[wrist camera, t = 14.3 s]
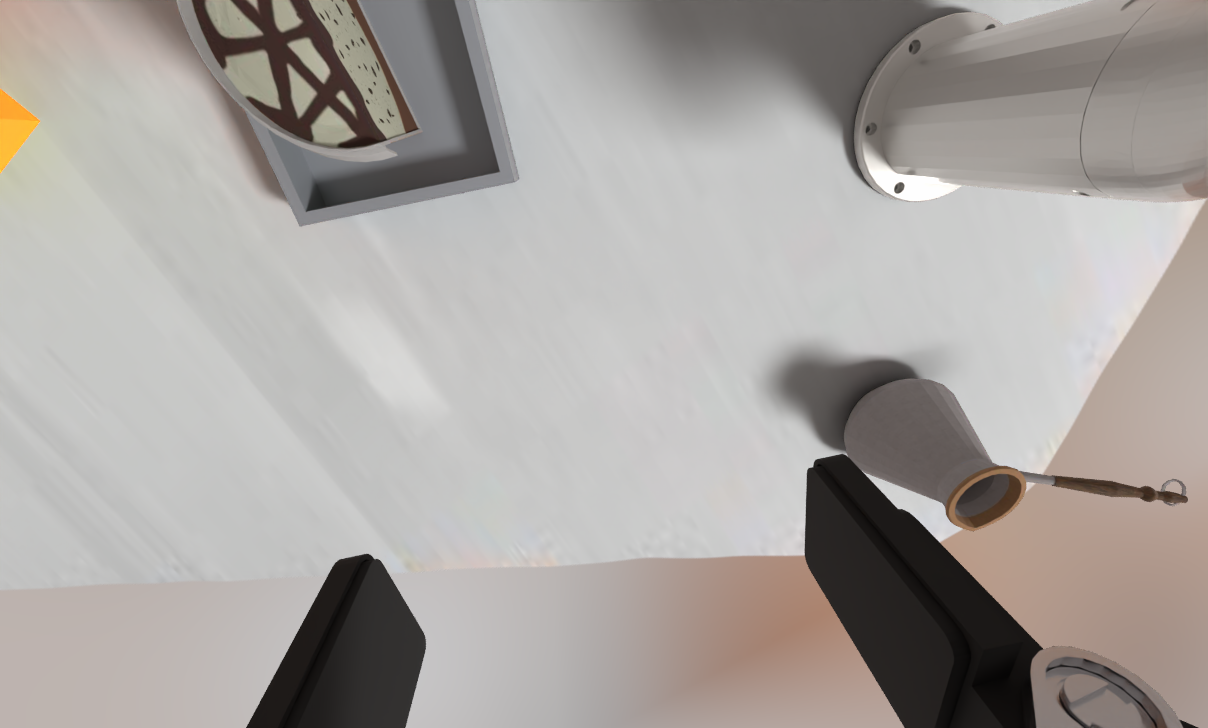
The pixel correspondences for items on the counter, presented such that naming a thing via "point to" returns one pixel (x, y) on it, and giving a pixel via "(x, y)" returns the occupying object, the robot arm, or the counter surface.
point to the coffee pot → (951, 455)
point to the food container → (305, 72)
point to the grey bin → (443, 110)
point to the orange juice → (13, 127)
